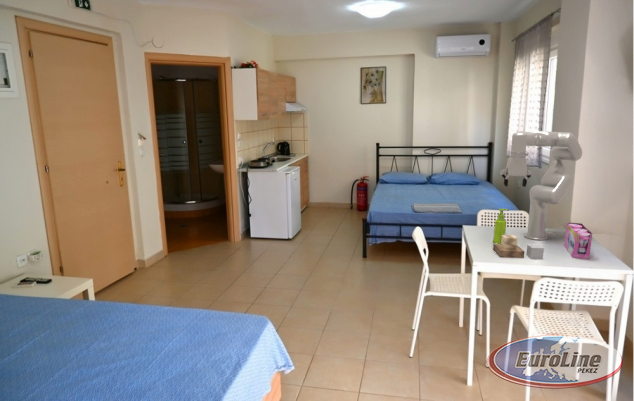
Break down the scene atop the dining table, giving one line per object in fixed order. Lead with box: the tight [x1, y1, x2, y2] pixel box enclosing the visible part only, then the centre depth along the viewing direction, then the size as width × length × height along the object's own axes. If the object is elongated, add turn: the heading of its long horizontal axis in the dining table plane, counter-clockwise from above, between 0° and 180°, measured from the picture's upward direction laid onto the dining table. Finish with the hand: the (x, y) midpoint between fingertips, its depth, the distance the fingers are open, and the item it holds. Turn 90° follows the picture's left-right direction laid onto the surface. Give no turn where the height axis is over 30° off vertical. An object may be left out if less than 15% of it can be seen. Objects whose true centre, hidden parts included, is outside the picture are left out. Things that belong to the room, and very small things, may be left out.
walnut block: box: [492, 243, 526, 259], centre depth 233 cm, size 12×12×4 cm
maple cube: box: [501, 234, 518, 249], centre depth 232 cm, size 6×6×6 cm
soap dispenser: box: [492, 208, 510, 244], centre depth 251 cm, size 6×7×20 cm
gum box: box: [563, 222, 593, 260], centre depth 235 cm, size 24×8×14 cm, turn 162°
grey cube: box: [525, 243, 545, 260], centre depth 228 cm, size 6×6×6 cm
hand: (514, 186), depth 245 cm, fingers open, 9 cm apart
